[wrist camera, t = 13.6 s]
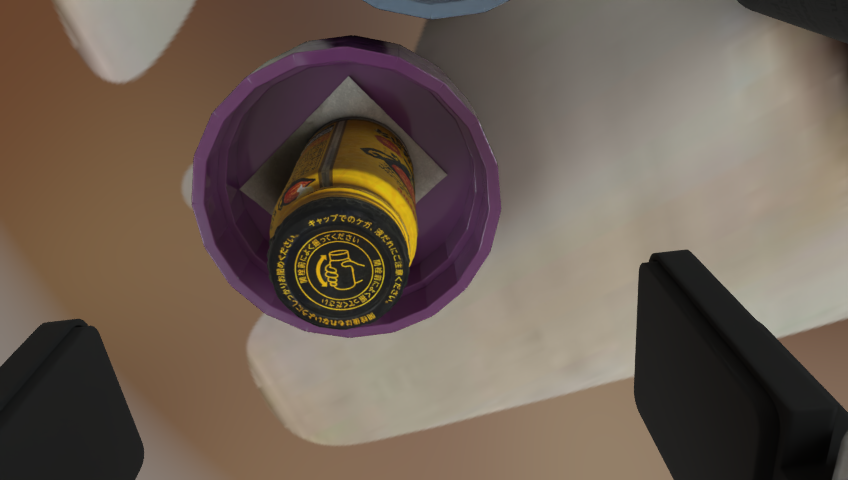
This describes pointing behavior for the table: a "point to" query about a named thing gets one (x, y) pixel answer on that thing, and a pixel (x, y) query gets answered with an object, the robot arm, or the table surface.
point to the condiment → (343, 211)
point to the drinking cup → (807, 14)
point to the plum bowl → (410, 109)
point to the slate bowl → (436, 7)
